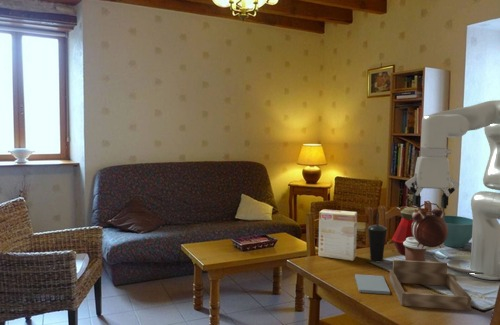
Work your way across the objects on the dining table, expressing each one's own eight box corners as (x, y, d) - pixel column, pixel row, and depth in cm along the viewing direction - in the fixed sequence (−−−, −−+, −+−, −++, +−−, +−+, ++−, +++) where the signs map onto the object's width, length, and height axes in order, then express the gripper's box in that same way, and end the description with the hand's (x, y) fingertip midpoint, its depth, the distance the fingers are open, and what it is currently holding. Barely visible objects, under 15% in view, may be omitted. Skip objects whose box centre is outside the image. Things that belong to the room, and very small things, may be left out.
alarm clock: (441, 245, 133) (441, 201, 132) (449, 249, 128) (449, 203, 127) (409, 246, 133) (409, 202, 132) (416, 251, 128) (416, 205, 127)
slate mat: (382, 278, 145) (382, 275, 145) (390, 294, 132) (390, 291, 132) (354, 276, 147) (354, 274, 147) (359, 292, 133) (359, 289, 133)
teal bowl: (483, 251, 178) (485, 224, 177) (443, 250, 178) (444, 224, 177) (462, 239, 196) (464, 215, 195) (426, 239, 196) (427, 215, 195)
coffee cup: (397, 266, 159) (398, 236, 158) (417, 264, 160) (418, 235, 159) (411, 274, 150) (412, 243, 149) (432, 272, 152) (433, 242, 151)
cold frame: (448, 284, 140) (449, 262, 139) (470, 310, 120) (472, 285, 120) (389, 281, 143) (390, 259, 142) (401, 305, 123) (402, 280, 123)
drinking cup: (364, 257, 169) (365, 211, 168) (381, 256, 170) (383, 210, 168) (371, 263, 162) (372, 215, 160) (389, 262, 162) (390, 214, 161)
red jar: (412, 246, 184) (414, 204, 183) (435, 255, 172) (437, 210, 170) (384, 250, 179) (386, 206, 177) (406, 259, 166) (408, 212, 164)
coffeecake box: (356, 256, 171) (357, 211, 169) (353, 261, 164) (354, 215, 162) (322, 251, 177) (322, 208, 175) (317, 256, 170) (318, 211, 168)
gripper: (457, 152, 130) (455, 205, 132) (402, 152, 133) (400, 204, 134) (466, 154, 123) (463, 210, 124) (407, 153, 125) (405, 208, 127)
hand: (430, 207), depth 129 cm, fingers closed on alarm clock, 7 cm apart
